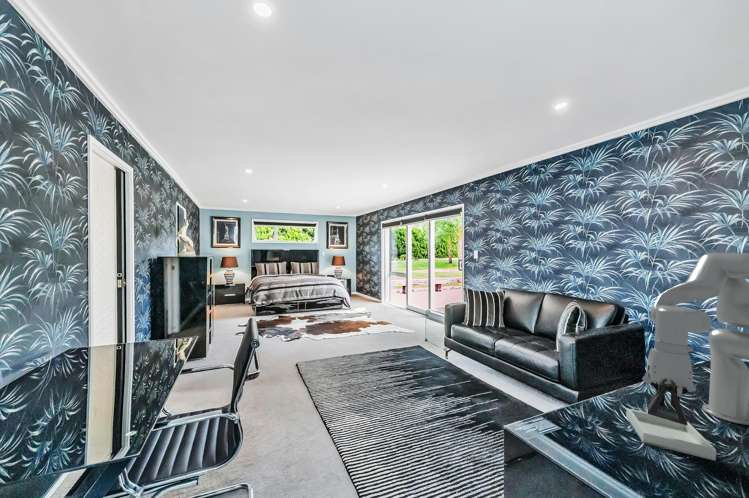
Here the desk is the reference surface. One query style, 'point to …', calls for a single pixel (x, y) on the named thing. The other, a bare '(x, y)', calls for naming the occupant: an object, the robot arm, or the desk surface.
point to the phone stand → (654, 411)
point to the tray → (670, 434)
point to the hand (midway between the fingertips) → (667, 405)
